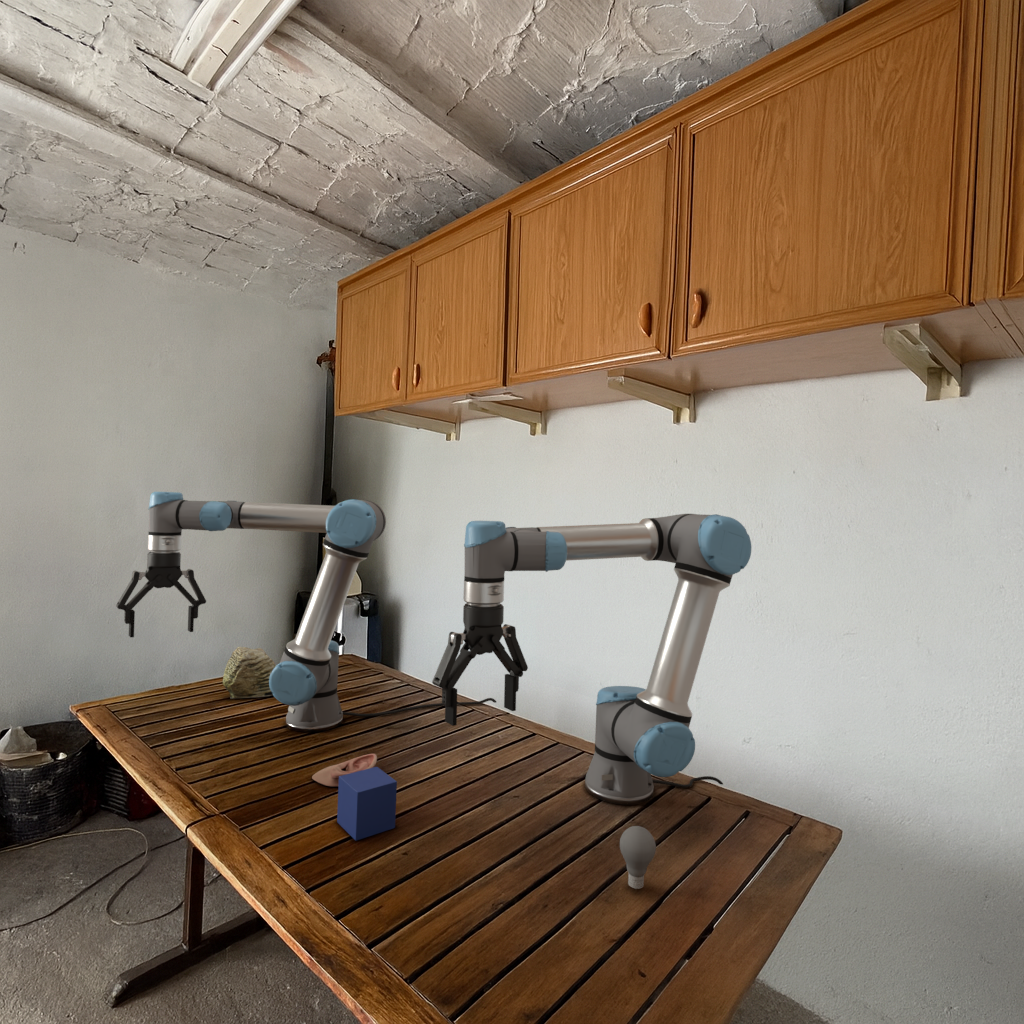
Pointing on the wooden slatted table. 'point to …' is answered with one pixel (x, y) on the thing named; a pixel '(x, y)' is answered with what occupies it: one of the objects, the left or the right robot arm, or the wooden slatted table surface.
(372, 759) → the anatomical model
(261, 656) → the fossil
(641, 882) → the light bulb
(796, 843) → the wooden slatted table surface
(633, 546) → the right robot arm
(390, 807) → the block
